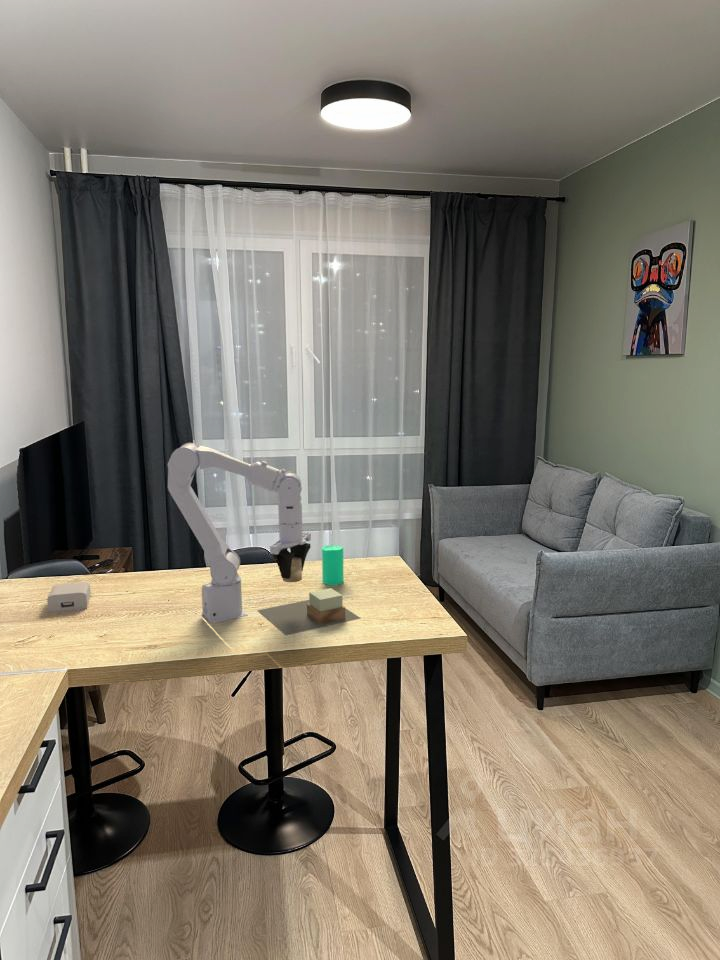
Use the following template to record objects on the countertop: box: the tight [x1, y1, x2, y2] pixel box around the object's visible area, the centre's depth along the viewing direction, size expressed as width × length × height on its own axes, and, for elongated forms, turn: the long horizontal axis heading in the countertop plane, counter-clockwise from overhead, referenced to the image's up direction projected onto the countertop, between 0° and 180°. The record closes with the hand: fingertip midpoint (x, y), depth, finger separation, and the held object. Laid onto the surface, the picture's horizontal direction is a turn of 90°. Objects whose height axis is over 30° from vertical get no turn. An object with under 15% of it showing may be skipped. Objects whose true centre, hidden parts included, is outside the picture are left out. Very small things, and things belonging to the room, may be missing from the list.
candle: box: [321, 542, 345, 586], centre depth 189 cm, size 6×6×12 cm
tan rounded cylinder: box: [282, 557, 303, 583], centre depth 166 cm, size 5×5×5 cm
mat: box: [256, 599, 361, 636], centre depth 165 cm, size 20×18×1 cm
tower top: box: [308, 587, 344, 612], centre depth 163 cm, size 6×6×3 cm
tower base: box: [307, 603, 346, 625], centre depth 163 cm, size 7×7×3 cm
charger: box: [46, 581, 92, 613], centre depth 177 cm, size 5×9×15 cm
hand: (292, 574), depth 166 cm, fingers closed on tan rounded cylinder, 5 cm apart
